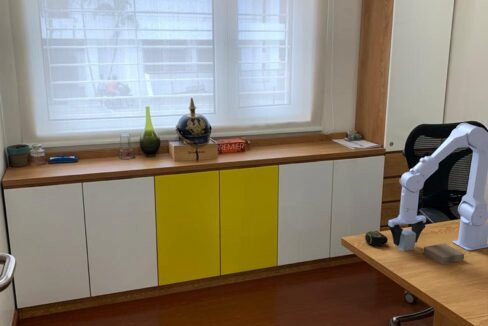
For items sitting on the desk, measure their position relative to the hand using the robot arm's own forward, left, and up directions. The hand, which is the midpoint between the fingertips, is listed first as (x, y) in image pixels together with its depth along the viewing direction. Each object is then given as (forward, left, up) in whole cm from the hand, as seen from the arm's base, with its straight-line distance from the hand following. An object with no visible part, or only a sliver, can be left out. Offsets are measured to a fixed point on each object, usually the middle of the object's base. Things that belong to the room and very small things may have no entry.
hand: (405, 243), depth 173 cm
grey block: (0, 0, -2) cm, 2 cm away
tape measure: (+7, -7, -2) cm, 10 cm away
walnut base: (-7, +11, -2) cm, 13 cm away
